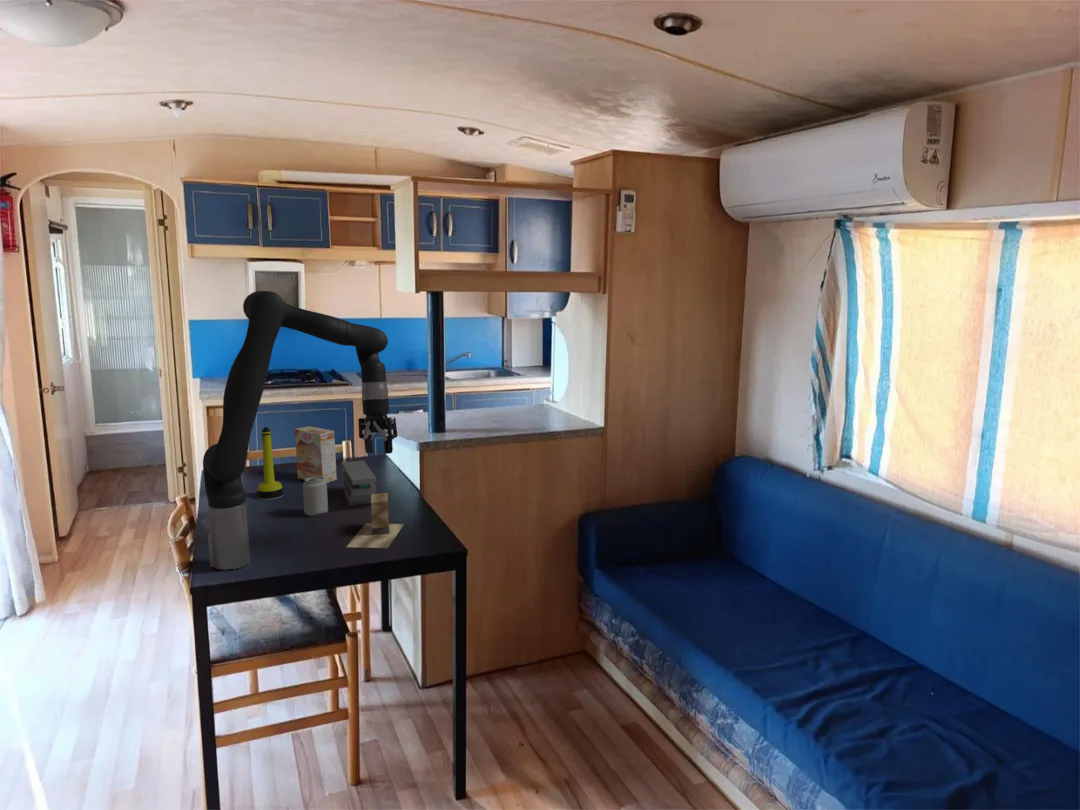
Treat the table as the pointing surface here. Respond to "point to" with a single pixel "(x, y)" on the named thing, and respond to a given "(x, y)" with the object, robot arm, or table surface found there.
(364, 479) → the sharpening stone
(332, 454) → the coffeecake box
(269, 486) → the flashlight
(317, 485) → the can
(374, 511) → the block
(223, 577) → the table surface
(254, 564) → the table surface
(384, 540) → the board
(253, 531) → the table surface
